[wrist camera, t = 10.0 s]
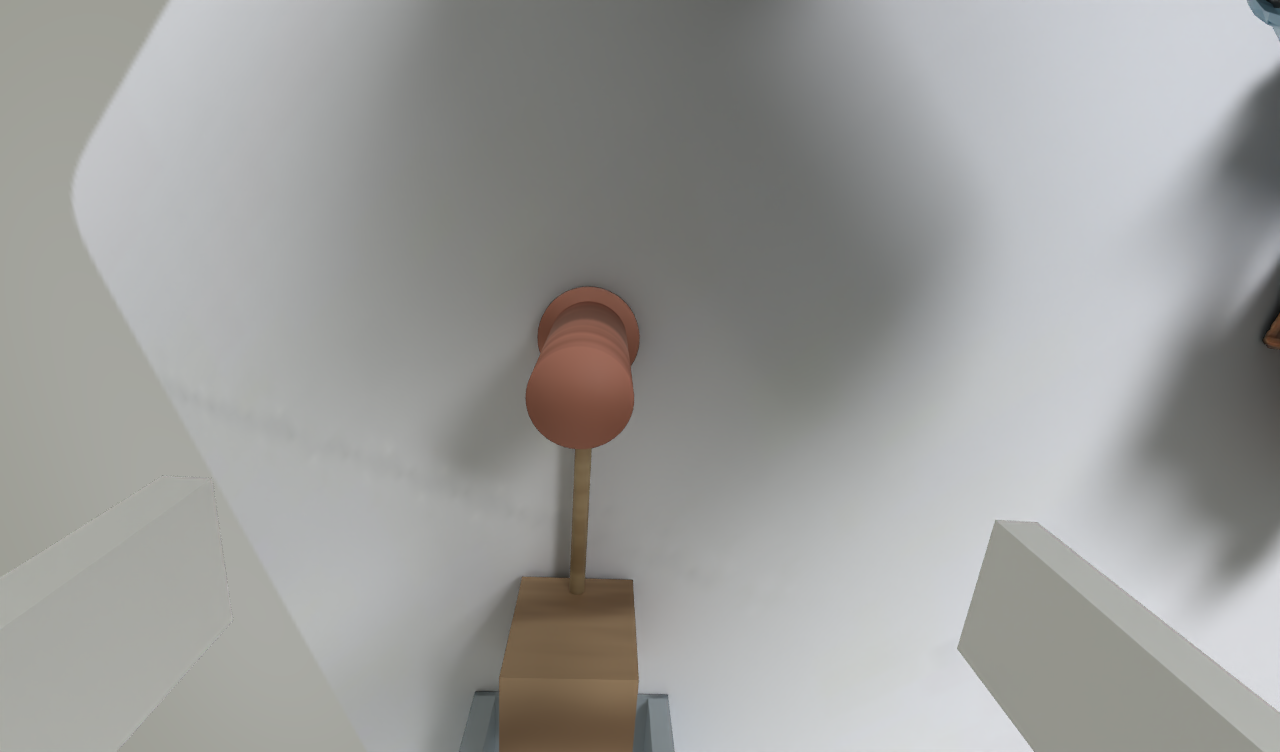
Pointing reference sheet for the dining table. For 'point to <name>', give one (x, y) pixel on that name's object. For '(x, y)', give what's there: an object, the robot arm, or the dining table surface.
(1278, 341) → the lantern
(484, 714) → the slate open-sided box
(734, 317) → the dining table surface
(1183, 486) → the dining table surface
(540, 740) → the block and peg linkage
